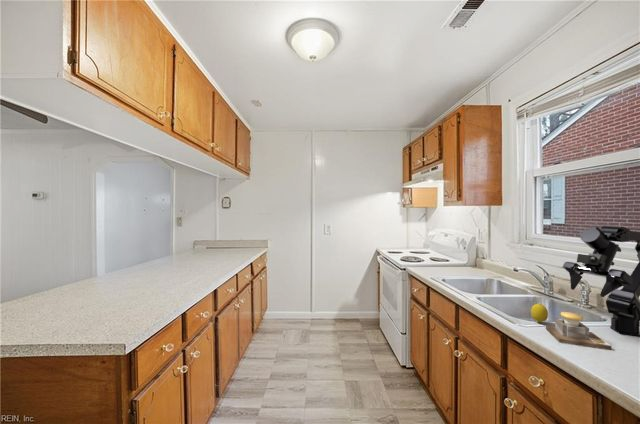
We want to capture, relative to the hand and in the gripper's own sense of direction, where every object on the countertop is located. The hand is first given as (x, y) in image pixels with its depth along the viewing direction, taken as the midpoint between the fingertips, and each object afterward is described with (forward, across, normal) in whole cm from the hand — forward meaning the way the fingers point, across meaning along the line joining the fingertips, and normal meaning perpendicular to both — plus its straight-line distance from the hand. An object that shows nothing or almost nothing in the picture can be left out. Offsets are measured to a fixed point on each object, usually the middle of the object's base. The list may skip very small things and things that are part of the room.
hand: (586, 292), depth 103 cm
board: (+16, 0, +5) cm, 17 cm away
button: (+14, -1, +3) cm, 14 cm away
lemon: (+16, -15, +6) cm, 22 cm away
